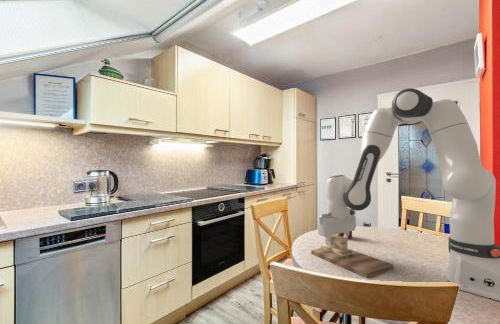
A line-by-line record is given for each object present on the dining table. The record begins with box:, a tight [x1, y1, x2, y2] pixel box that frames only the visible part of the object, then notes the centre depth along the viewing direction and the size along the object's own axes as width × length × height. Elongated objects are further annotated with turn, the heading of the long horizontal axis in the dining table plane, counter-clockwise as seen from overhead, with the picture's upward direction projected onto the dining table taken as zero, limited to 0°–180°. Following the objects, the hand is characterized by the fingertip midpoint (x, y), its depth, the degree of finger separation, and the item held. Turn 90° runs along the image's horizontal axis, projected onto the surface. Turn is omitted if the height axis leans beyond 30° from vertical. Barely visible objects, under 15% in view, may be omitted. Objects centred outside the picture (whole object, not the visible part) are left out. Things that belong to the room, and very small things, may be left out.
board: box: [310, 247, 395, 279], centre depth 103 cm, size 28×16×2 cm, turn 29°
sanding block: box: [320, 234, 353, 258], centre depth 109 cm, size 12×6×7 cm, turn 29°
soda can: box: [337, 231, 353, 240], centre depth 135 cm, size 7×7×12 cm
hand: (337, 243), depth 108 cm, fingers open, 8 cm apart
